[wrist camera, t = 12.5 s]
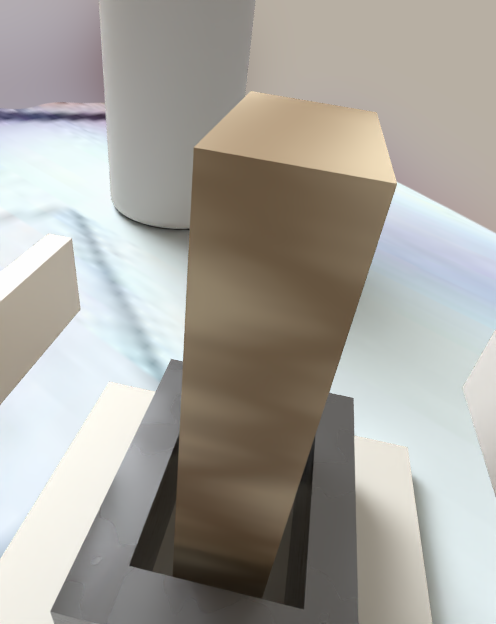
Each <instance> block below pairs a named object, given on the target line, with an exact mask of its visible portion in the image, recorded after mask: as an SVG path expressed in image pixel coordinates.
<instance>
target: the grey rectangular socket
mask: <svg viewBox="0 0 496 624" xmlns="http://www.w3.org/2000/svg"><path fill="white" fill-rule="evenodd" d="M182 373H183V362H182V361H178V360H173V359H171V361H170V363H169V365H168V367H167V369H166V371H165V373H164V375H163V377H162V380H161V382H160V384H159V386H158V388H157V390H156V392H155V394H154V396H153V398H152V400H151V402H150V405H149V407H148V409H147V411H146V413H145V415H144V417H143V419H142V421H141V423H140V425H139V427H138V430H137V432H136V434H135V436H134V438H133V440H132V442H131V444H130V446H129V448H128V450H127V452H126V454H125V457H124V459H123V461H122V463H121V465H120V467H119V469H118V471H117V473H116V475H115V477H114V479H113V482H112V484H111V486H110V488H109V490H108V492H107V494H106V496H105V498H104V500H103V502H102V504H101V507H100V509H99V511H98V513H97V515H96V517H95V519H94V521H93V523H92V525H91V527H90V529H89V532H88V534H87V536H86V538H85V540H84V542H83V544H82V546H81V548H80V550H79V552H78V554H77V557H76V559H75V561H74V563H73V565H72V567H71V569H70V571H69V573H68V575H67V577H66V579H65V581H64V584H63V586H62V588H61V590H60V592H59V594H58V596H57V598H56V600H55V602H54V604H53V606H52V609H51V611H50V613H51V616H52V619H53V622H54V624H359V622H358V578H357V534H356V491H355V447H354V404H353V398H351V397H346V396H341V395H337V394H332V393H329V394H328V397H327V400H326V403H325V407H324V410H323V413H322V416H321V419H320V422H319V425H318V428H317V431H316V434H315V437H314V440H313V443H312V446H311V450H310V453H309V456H308V459H307V462H306V465H305V468H304V471H303V474H302V477H301V480H300V483H299V486H298V489H297V493H296V496H295V499H294V507H293V517H292V527H291V537H290V547H289V557H288V567H287V577H286V587H285V597H284V605H283V604H279V603H275V602H271V601H267V600H263V599H259V598H255V597H251V596H247V595H243V594H239V593H235V592H231V591H227V590H223V589H219V588H215V587H211V586H207V585H203V584H199V583H195V582H191V581H187V580H183V579H179V578H175V577H171V576H167V575H163V574H159V573H155V572H152V571H153V568H154V565H155V562H156V559H157V556H158V553H159V550H160V547H161V544H162V541H163V538H164V535H165V532H166V529H167V526H168V523H169V520H170V517H171V514H172V511H173V508H174V505H175V502H176V494H177V474H178V454H179V434H180V414H181V394H182Z"/></svg>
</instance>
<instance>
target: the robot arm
mask: <svg viewBox="0 0 496 624" xmlns="http://www.w3.org/2000/svg"><path fill="white" fill-rule="evenodd" d="M79 311H80V302H79V293H78V285H77V277H76V269H75V260H74V252H73V244H72V238H69V237H64V236H58V235H53V234H47V235H46V236H45V237H44V238H42V239H41V240H40V241H39V242H37V243H36V244H35V245H34V246H32V247H31V248H30V249H29V250H27V251H26V252H25V253H24V254H22V255H21V256H20V257H19V258H17V259H16V260H15V261H14V262H12V263H11V264H10V265H9V266H7V267H6V268H5V269H4V270H2V271H1V272H0V404H1V403H2V402H3V401H4V400H5V398H6V397H7V396H8V395H9V394H10V393H11V391H12V390H13V389H14V388H15V387H16V385H17V384H18V383H19V382H20V381H21V379H22V378H23V377H24V376H25V375H26V374H27V372H28V371H29V370H30V369H31V368H32V366H33V365H34V364H35V363H36V362H37V360H38V359H39V358H40V357H41V356H42V354H43V353H44V352H45V351H46V350H47V349H48V347H49V346H50V345H51V344H52V343H53V341H54V340H55V339H56V338H57V337H58V335H59V334H60V333H61V332H62V331H63V330H64V328H65V327H66V326H67V325H68V324H69V322H70V321H71V320H72V319H73V318H74V316H75V315H76V314H77V313H78V312H79ZM462 389H463V392H464V396H465V399H466V402H467V405H468V409H469V412H470V415H471V418H472V422H473V425H474V428H475V431H476V434H477V438H478V441H479V444H480V447H481V451H482V454H483V457H484V460H485V464H486V467H487V470H488V473H489V476H490V480H491V483H492V486H493V489H494V493H495V496H496V329H495V331H494V333H493V335H492V336H491V338H490V340H489V342H488V343H487V345H486V347H485V349H484V350H483V352H482V354H481V356H480V358H479V359H478V361H477V363H476V365H475V366H474V368H473V370H472V372H471V373H470V375H469V377H468V379H467V380H466V382H465V384H464V386H463V387H462Z"/></svg>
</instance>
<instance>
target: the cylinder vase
mask: <svg viewBox="0 0 496 624" xmlns="http://www.w3.org/2000/svg"><path fill="white" fill-rule="evenodd" d="M99 8H100V9H99V10H100V26H101V42H102V59H103V76H104V92H105V109H106V125H107V142H108V158H109V175H110V191H111V200H112V202H113V204H114V206H115V207H116V208H117V209H118V210H119V211H120V212H121V213H122V214H123V215H125V216H127V217H128V218H130V219H132V220H135V221H137V222H140V223H143V224H147V225H151V226H155V227H161V228H171V229H189V228H190V212H191V192H192V172H193V152H194V147H195V146H196V145H197V144H198V143H199V142H200V141H201V140H202V139H203V138H204V137H205V136H206V135H207V134H208V133H209V132H210V131H211V130H212V129H213V128H214V127H215V126H216V125H217V124H218V123H219V122H220V121H221V120H222V119H223V118H224V117H225V116H226V115H227V114H228V113H229V112H230V111H231V110H232V109H233V108H234V107H235V106H236V105H237V104H238V103H239V102H240V101H241V100H242V99H243V98H244V97H245V91H246V82H247V73H248V64H249V55H250V45H251V35H252V27H253V17H254V8H255V0H99Z"/></svg>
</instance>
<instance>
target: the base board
mask: <svg viewBox="0 0 496 624" xmlns="http://www.w3.org/2000/svg"><path fill="white" fill-rule="evenodd" d="M154 394H155V392H154V391H150V390H145V389H141V388H136V387H132V386H127V385H123V384H118V383H113V382H109V383H108V385H107V386H106V388H105V389H104V391H103V393H102V394H101V396H100V398H99V399H98V401H97V402H96V404H95V406H94V407H93V409H92V411H91V412H90V414H89V415H88V417H87V419H86V420H85V422H84V424H83V425H82V427H81V429H80V430H79V432H78V433H77V435H76V437H75V438H74V440H73V442H72V443H71V445H70V446H69V448H68V450H67V451H66V453H65V455H64V456H63V458H62V459H61V461H60V463H59V464H58V466H57V468H56V469H55V471H54V472H53V474H52V476H51V477H50V479H49V481H48V482H47V484H46V485H45V487H44V489H43V490H42V492H41V494H40V495H39V497H38V499H37V500H36V502H35V503H34V505H33V507H32V508H31V510H30V512H29V513H28V515H27V516H26V518H25V520H24V521H23V523H22V525H21V526H20V528H19V529H18V531H17V533H16V534H15V536H14V538H13V539H12V541H11V542H10V544H9V546H8V547H7V549H6V551H5V552H4V554H3V555H2V557H1V559H0V624H54V622H53V619H52V616H51V613H50V611H51V609H52V606H53V604H54V602H55V600H56V598H57V596H58V594H59V592H60V590H61V588H62V586H63V584H64V581H65V579H66V577H67V575H68V573H69V571H70V569H71V567H72V565H73V563H74V561H75V559H76V557H77V554H78V552H79V550H80V548H81V546H82V544H83V542H84V540H85V538H86V536H87V534H88V532H89V529H90V527H91V525H92V523H93V521H94V519H95V517H96V515H97V513H98V511H99V509H100V507H101V504H102V502H103V500H104V498H105V496H106V494H107V492H108V490H109V488H110V486H111V484H112V482H113V479H114V477H115V475H116V473H117V471H118V469H119V467H120V465H121V463H122V461H123V459H124V457H125V454H126V452H127V450H128V448H129V446H130V444H131V442H132V440H133V438H134V436H135V434H136V432H137V430H138V427H139V425H140V423H141V421H142V419H143V417H144V415H145V413H146V411H147V409H148V407H149V405H150V402H151V400H152V398H153V396H154ZM354 447H355V491H356V534H357V578H358V622H359V624H433V623H432V616H431V609H430V602H429V595H428V588H427V581H426V574H425V567H424V560H423V553H422V546H421V538H420V531H419V524H418V517H417V510H416V503H415V496H414V489H413V482H412V475H411V468H410V461H409V454H408V447H404V446H400V445H395V444H391V443H386V442H382V441H377V440H372V439H368V438H363V437H359V436H354ZM293 507H294V502H293V505H292V508H291V511H290V514H289V517H288V520H287V523H286V526H285V529H284V532H283V536H282V539H281V542H280V545H279V548H278V551H277V554H276V557H275V560H274V563H273V566H272V569H271V572H270V575H269V579H268V582H267V585H266V588H265V591H264V594H263V597H262V599H263V600H267V601H271V602H275V603H279V604H283V605H284V597H285V587H286V577H287V567H288V557H289V547H290V537H291V527H292V517H293ZM175 514H176V502H175V505H174V508H173V511H172V514H171V517H170V520H169V523H168V526H167V529H166V532H165V535H164V538H163V541H162V544H161V547H160V550H159V553H158V556H157V559H156V562H155V565H154V568H153V571H152V572H155V573H159V574H163V575H167V576H171V577H172V575H173V555H174V534H175Z"/></svg>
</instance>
